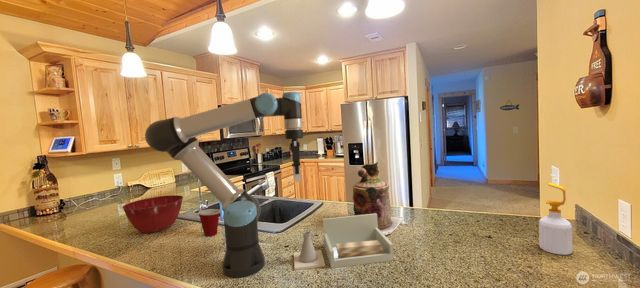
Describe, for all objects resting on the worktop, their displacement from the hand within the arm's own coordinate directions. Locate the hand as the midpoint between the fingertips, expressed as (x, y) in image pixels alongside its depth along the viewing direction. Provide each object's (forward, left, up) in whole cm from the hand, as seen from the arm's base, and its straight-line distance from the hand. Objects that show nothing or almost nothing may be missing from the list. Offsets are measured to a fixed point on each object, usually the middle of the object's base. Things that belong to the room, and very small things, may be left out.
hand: (297, 179), depth 115 cm
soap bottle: (+92, -29, -29) cm, 101 cm away
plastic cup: (-44, +24, -29) cm, 58 cm away
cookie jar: (+36, +13, -29) cm, 48 cm away
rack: (+21, -14, -29) cm, 38 cm away
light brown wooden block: (+21, -19, -29) cm, 40 cm away
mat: (+2, -15, -29) cm, 32 cm away
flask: (+2, -15, -28) cm, 32 cm away
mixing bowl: (-78, +42, -29) cm, 93 cm away
